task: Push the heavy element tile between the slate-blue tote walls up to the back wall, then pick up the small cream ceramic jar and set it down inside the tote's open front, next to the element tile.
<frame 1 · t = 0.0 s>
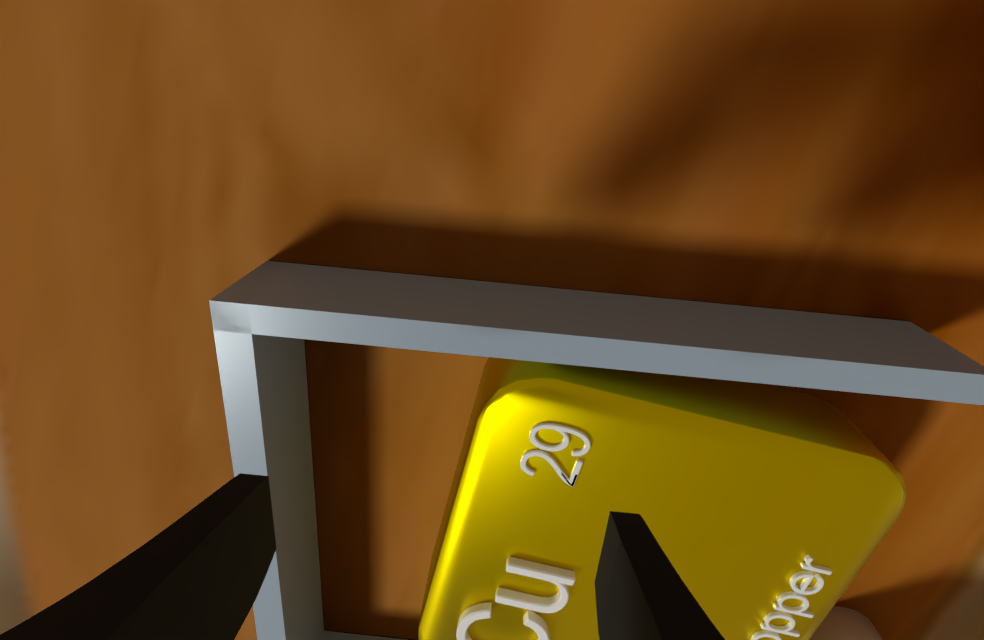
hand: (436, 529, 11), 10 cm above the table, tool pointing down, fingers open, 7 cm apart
tote: (563, 512, 24), on the table
element tile: (618, 498, 24), on the table
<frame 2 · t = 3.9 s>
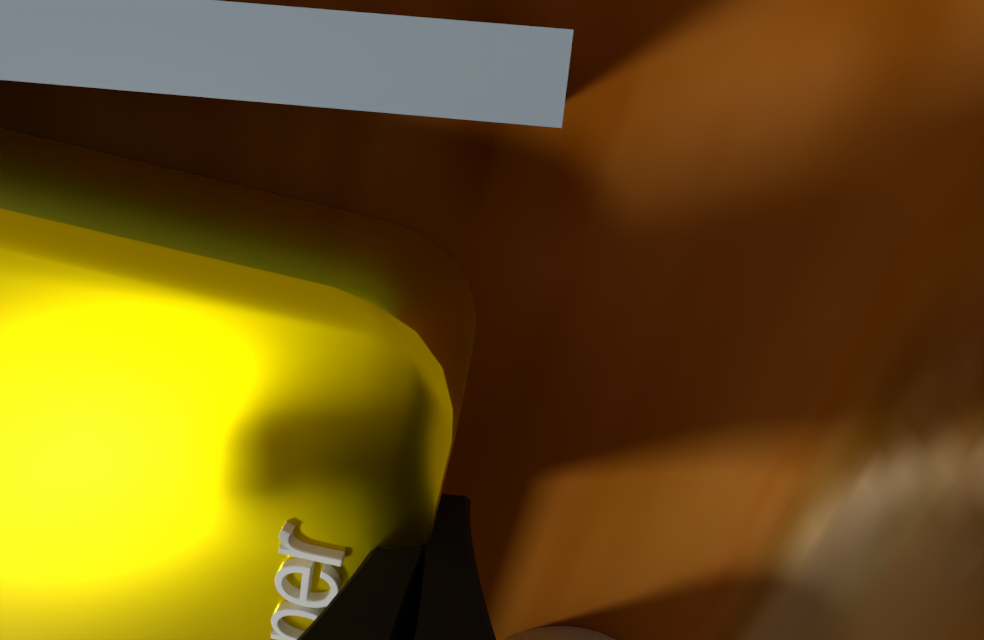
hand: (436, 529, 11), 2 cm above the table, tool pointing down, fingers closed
tote: (70, 468, 14), on the table
element tile: (157, 441, 14), on the table, touching gripper
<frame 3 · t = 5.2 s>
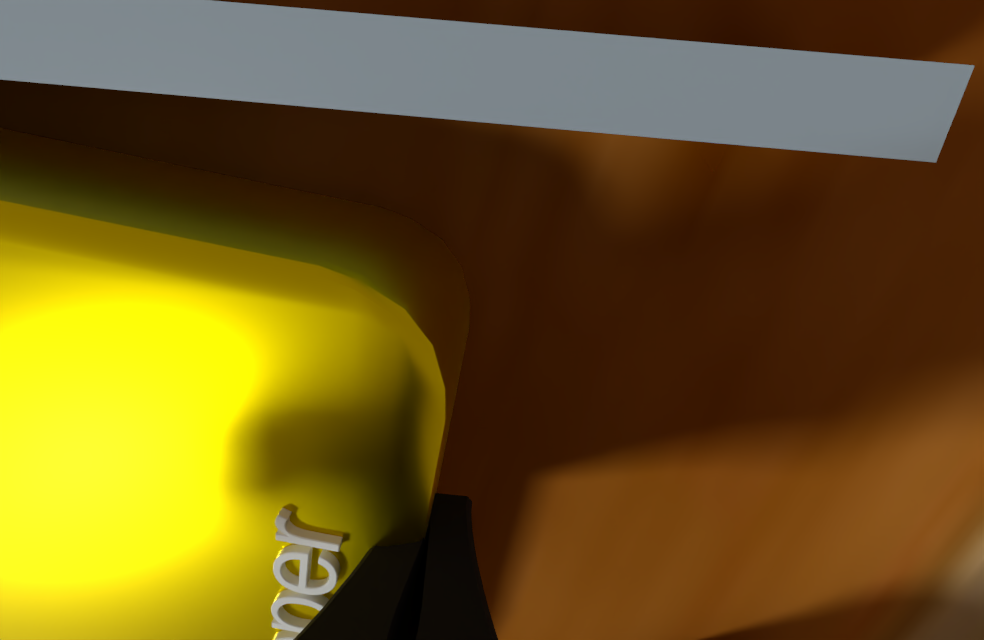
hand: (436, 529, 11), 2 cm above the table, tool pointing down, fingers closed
tote: (232, 484, 14), on the table
element tile: (157, 438, 14), on the table
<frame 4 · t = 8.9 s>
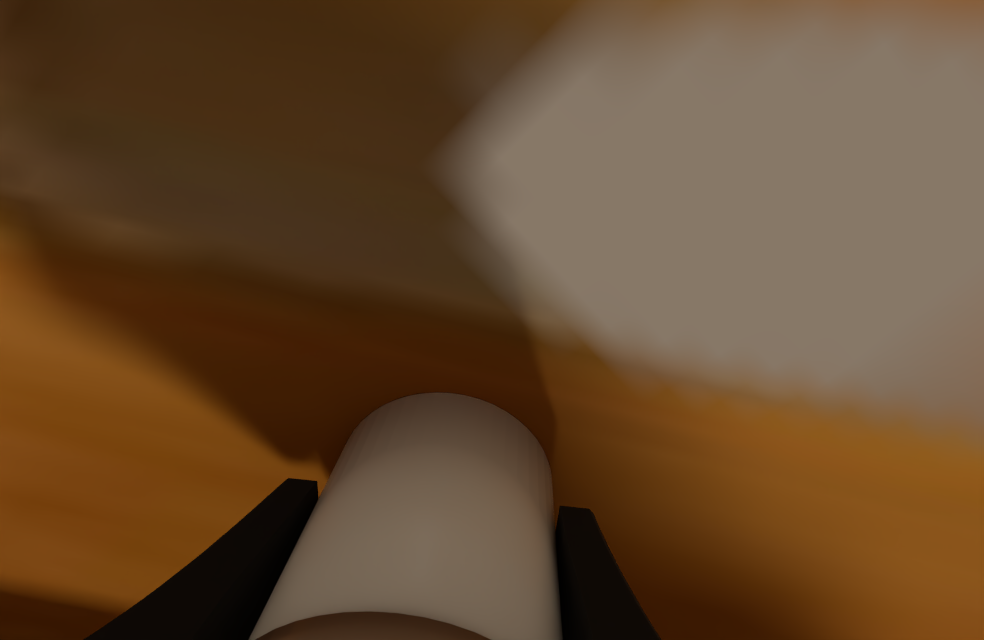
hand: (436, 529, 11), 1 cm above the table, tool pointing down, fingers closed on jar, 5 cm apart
jar: (445, 483, 13), on the table, touching gripper
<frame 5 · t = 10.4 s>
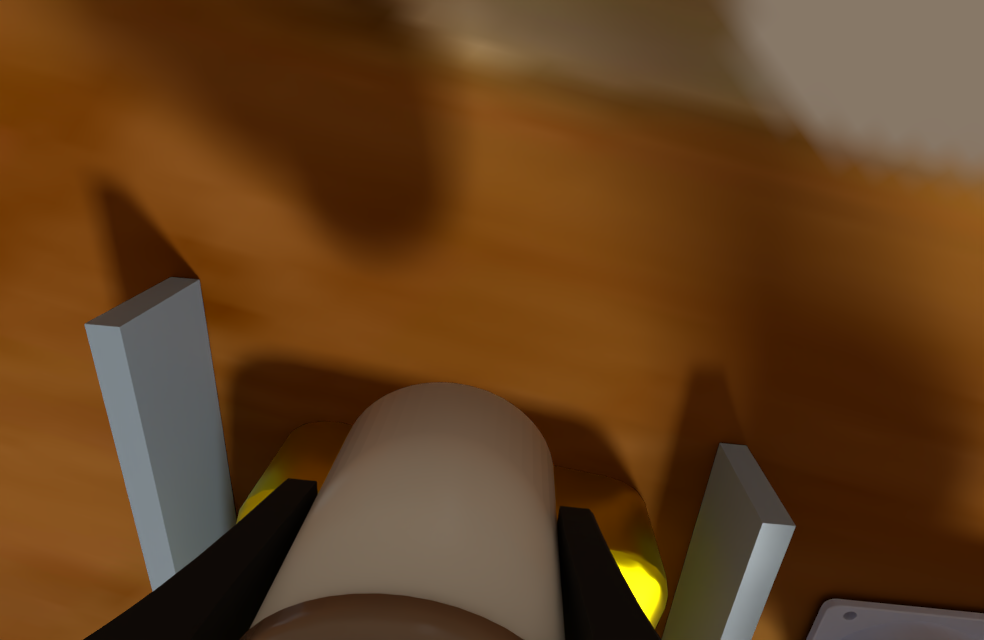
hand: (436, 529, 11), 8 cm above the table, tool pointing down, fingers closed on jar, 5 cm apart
jar: (447, 474, 13), point 7 cm above the table, touching gripper
tote: (457, 547, 23), on the table
element tile: (444, 572, 24), on the table
when the fingers open (3 cm above the table, at t = 12.0 s): jar drops 2 cm, on the table.
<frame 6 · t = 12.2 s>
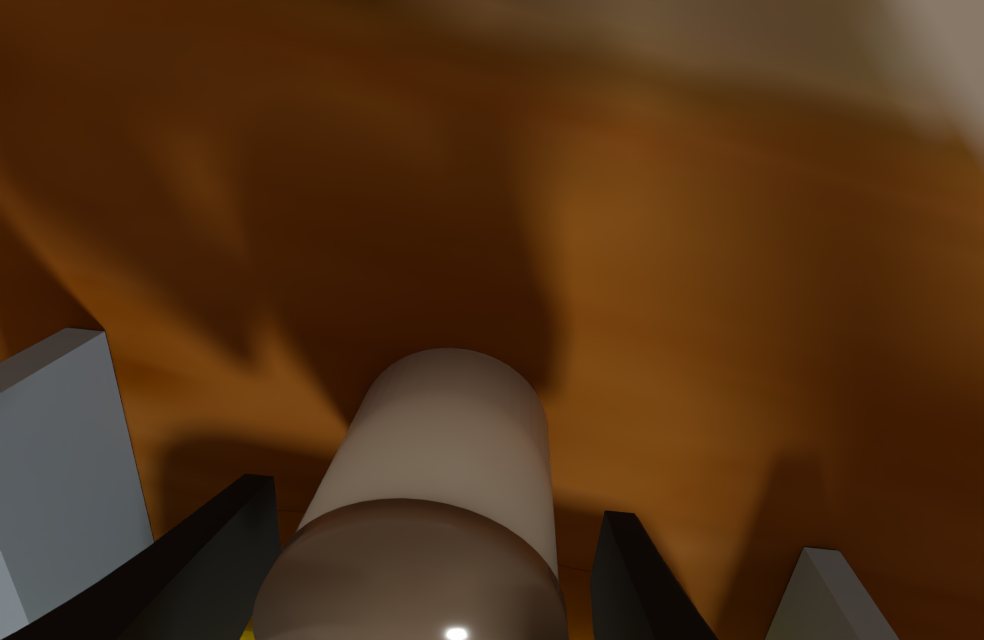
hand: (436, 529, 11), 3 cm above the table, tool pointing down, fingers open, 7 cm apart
jar: (453, 432, 14), on the table
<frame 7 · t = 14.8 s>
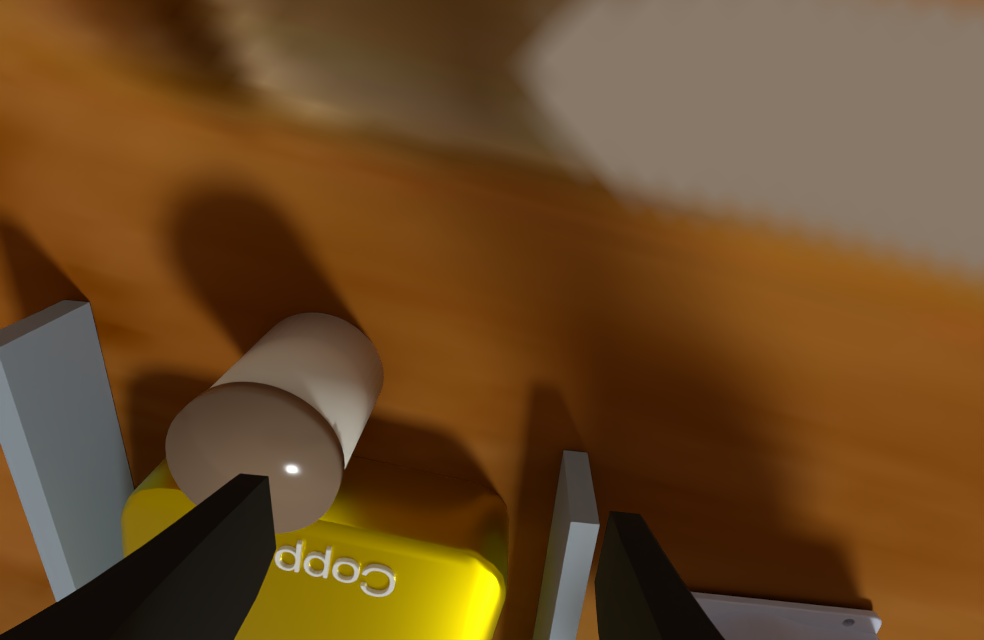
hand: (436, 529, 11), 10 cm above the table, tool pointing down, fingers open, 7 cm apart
jar: (321, 370, 22), on the table
tote: (342, 543, 25), on the table
element tile: (336, 566, 27), on the table
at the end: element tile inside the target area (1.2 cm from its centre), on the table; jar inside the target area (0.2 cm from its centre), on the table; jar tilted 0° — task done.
